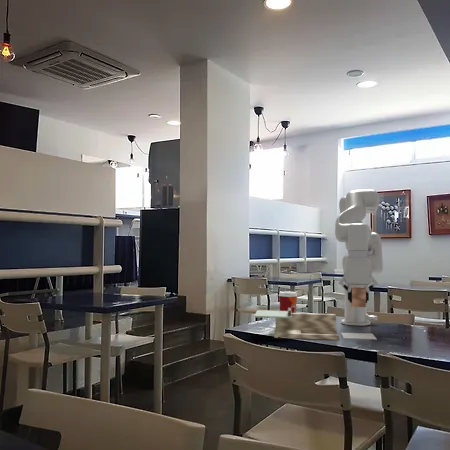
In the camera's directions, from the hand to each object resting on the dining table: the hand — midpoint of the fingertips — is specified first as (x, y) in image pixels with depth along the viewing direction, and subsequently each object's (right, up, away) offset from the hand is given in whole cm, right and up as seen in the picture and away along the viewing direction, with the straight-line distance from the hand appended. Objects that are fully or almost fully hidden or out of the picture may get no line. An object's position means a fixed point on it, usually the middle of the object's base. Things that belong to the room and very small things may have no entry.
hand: (358, 301), depth 181 cm
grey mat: (0, -14, 0) cm, 14 cm away
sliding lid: (-32, -6, +4) cm, 33 cm away
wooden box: (-20, -14, +3) cm, 24 cm away
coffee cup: (-24, -14, +20) cm, 35 cm away
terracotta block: (0, -2, 0) cm, 2 cm away
